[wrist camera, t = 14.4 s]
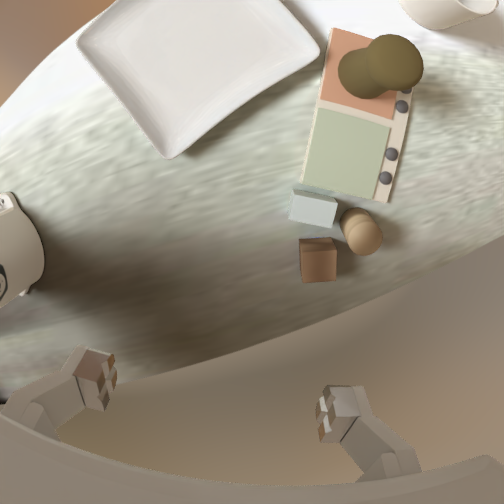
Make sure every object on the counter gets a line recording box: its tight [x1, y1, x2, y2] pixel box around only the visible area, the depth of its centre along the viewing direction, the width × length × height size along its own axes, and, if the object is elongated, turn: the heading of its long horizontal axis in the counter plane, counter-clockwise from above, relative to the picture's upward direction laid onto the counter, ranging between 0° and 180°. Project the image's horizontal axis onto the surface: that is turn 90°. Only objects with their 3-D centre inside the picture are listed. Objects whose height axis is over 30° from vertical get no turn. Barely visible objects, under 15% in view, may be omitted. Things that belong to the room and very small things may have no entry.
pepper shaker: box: [338, 34, 424, 99], centre depth 24 cm, size 6×6×11 cm
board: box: [300, 28, 414, 203], centre depth 32 cm, size 11×19×1 cm, turn 170°
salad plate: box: [76, 0, 321, 160], centre depth 28 cm, size 21×21×3 cm
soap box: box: [287, 189, 338, 228], centre depth 36 cm, size 5×3×3 cm, turn 80°
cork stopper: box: [340, 207, 383, 256], centre depth 35 cm, size 4×4×5 cm
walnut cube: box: [299, 237, 337, 283], centre depth 38 cm, size 4×4×4 cm
